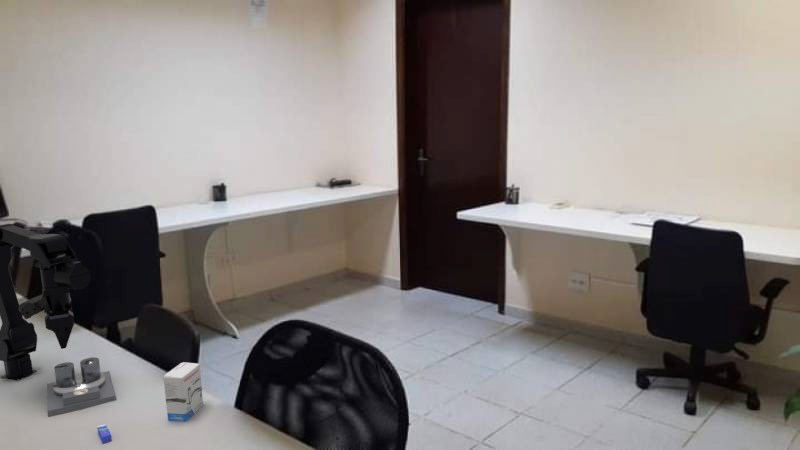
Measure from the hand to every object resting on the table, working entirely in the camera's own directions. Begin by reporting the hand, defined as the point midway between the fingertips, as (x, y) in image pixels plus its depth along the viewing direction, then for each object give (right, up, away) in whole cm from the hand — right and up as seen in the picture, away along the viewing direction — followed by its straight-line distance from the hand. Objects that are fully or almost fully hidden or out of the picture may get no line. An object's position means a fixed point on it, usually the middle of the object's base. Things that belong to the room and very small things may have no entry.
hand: (63, 342), depth 160 cm
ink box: (+36, -15, -12) cm, 41 cm away
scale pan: (+4, -11, 0) cm, 12 cm away
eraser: (+21, -18, -21) cm, 35 cm away
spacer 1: (+2, -10, -1) cm, 11 cm away
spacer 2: (+7, -10, +1) cm, 12 cm away
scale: (+5, -13, -1) cm, 14 cm away
